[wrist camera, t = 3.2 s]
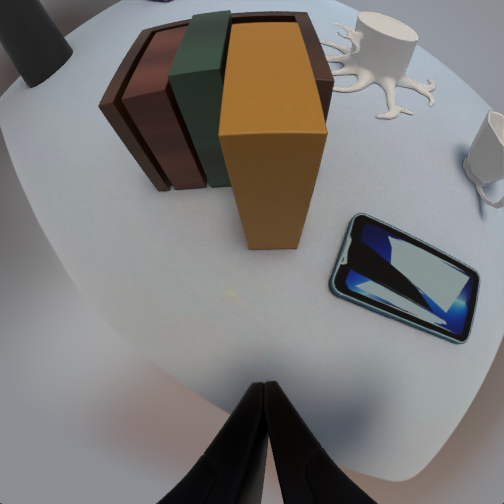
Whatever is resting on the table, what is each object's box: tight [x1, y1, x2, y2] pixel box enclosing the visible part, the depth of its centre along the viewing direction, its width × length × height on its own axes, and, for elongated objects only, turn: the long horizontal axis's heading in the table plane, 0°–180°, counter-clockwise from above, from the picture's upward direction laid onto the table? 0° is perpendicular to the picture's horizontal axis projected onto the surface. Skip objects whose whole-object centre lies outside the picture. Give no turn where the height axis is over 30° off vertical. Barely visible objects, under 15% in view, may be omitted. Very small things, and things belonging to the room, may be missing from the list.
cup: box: [463, 110, 504, 208], centre depth 19 cm, size 7×10×8 cm
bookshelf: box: [98, 10, 334, 191], centre depth 20 cm, size 11×14×13 cm
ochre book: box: [218, 22, 328, 250], centre depth 17 cm, size 10×4×14 cm, turn 0°
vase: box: [0, 0, 73, 88], centre depth 25 cm, size 14×14×29 cm
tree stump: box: [320, 12, 435, 119], centre depth 25 cm, size 20×19×8 cm
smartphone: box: [330, 213, 480, 344], centre depth 20 cm, size 7×1×15 cm
